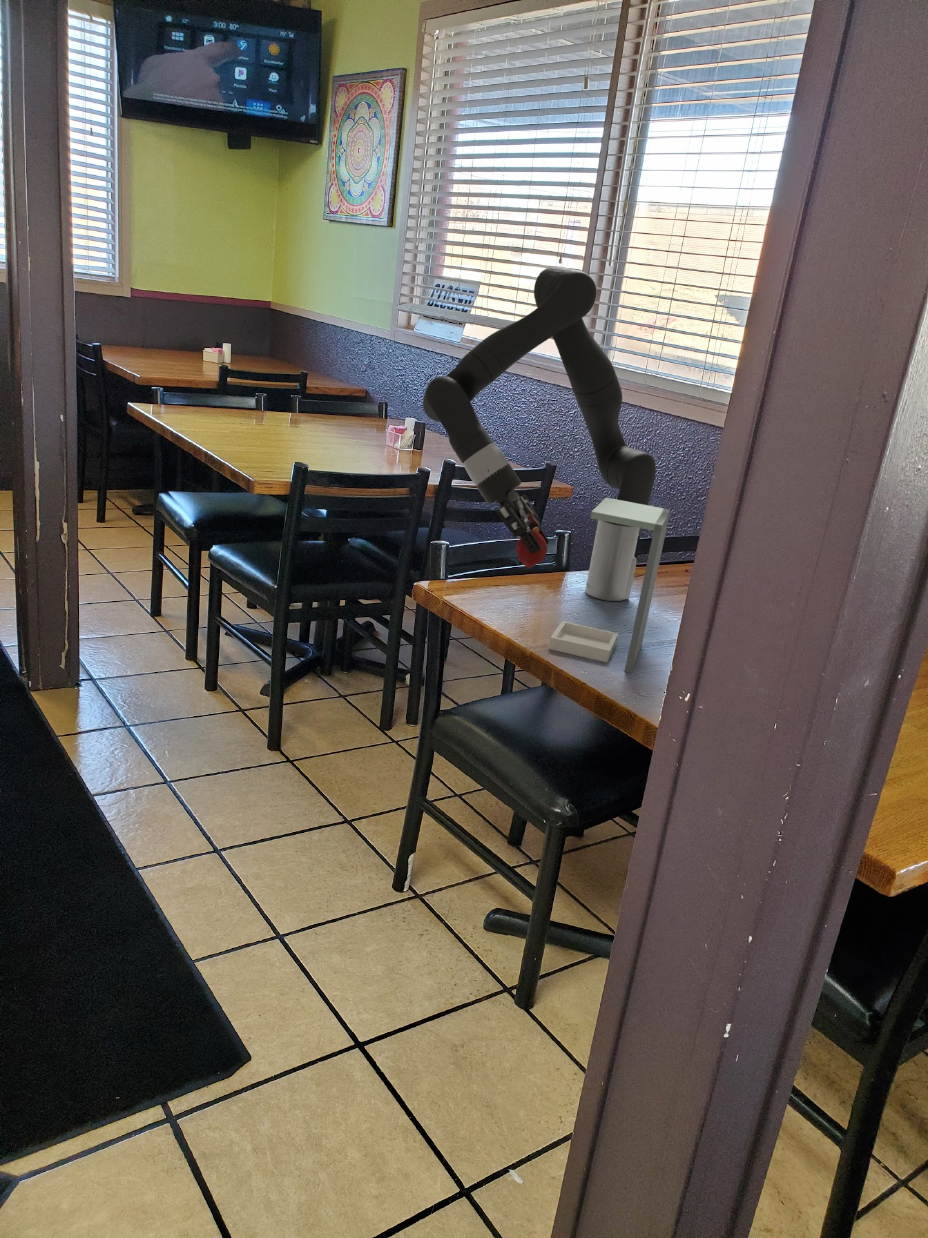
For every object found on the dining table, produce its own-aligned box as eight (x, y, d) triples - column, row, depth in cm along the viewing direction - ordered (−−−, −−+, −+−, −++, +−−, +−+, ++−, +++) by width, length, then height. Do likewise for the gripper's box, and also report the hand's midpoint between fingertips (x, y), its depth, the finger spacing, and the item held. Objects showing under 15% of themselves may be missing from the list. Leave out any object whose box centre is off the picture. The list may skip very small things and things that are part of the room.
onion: (534, 574, 172) (542, 533, 170) (507, 566, 175) (515, 525, 173) (548, 569, 177) (556, 529, 175) (522, 561, 180) (529, 521, 177)
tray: (548, 648, 172) (550, 637, 171) (560, 631, 182) (562, 620, 181) (607, 662, 169) (609, 650, 168) (616, 644, 179) (618, 633, 178)
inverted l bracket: (564, 657, 169) (591, 511, 160) (580, 632, 183) (605, 497, 175) (631, 672, 166) (662, 525, 157) (641, 646, 180) (670, 509, 172)
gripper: (497, 466, 165) (549, 545, 166) (517, 458, 179) (565, 531, 180) (464, 489, 168) (515, 566, 169) (486, 480, 182) (534, 551, 182)
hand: (541, 548), depth 174 cm, fingers closed on onion, 6 cm apart
